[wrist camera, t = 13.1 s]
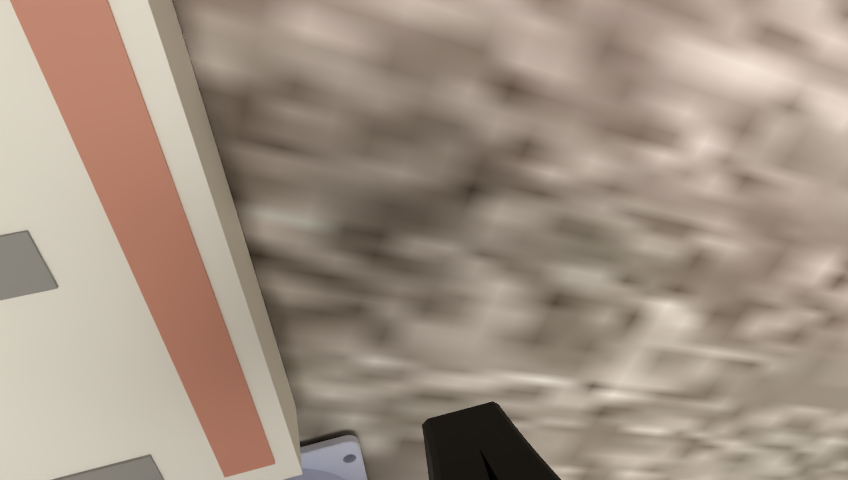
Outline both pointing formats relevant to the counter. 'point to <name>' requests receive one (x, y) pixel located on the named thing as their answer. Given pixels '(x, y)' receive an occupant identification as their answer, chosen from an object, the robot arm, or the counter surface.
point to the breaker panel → (125, 262)
